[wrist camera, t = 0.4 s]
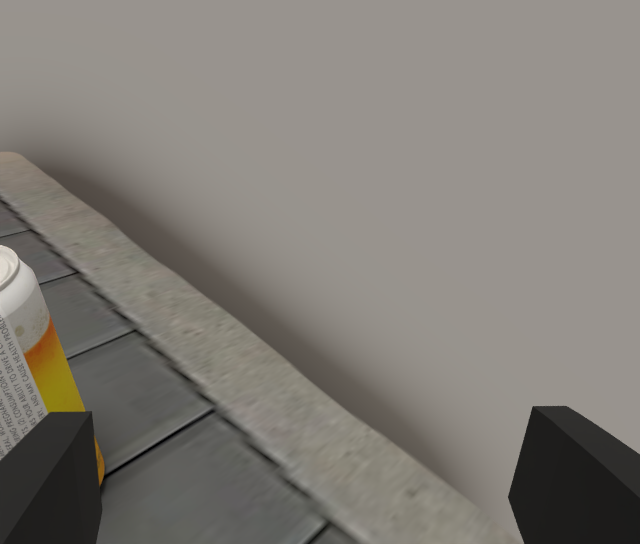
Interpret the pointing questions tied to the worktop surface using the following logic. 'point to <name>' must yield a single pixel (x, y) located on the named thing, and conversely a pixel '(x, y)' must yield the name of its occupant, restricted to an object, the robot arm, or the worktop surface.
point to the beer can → (30, 358)
